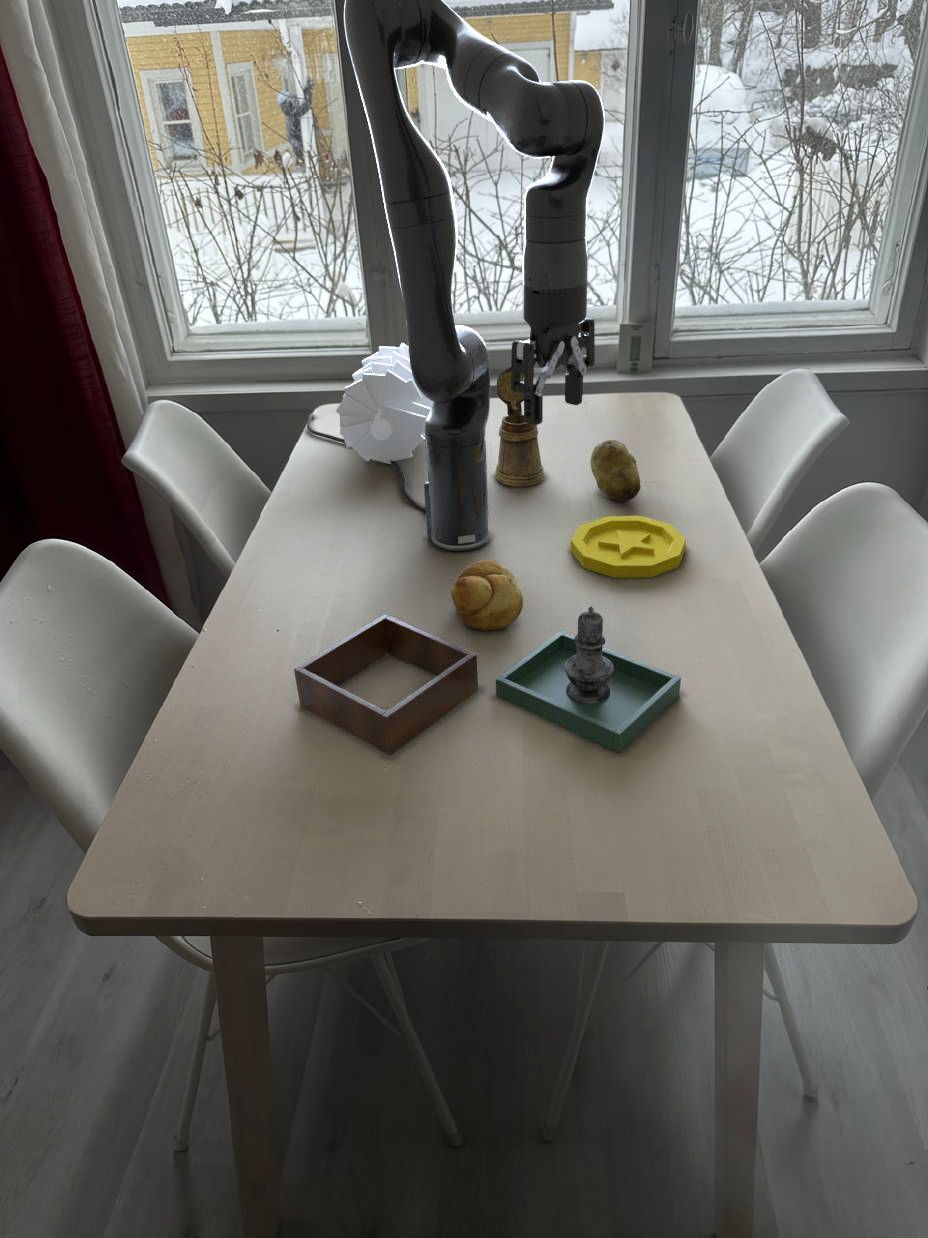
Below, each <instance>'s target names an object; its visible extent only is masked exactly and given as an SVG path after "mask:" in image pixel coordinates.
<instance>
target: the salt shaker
mask: <svg viewBox="0 0 928 1238" xmlns="http://www.w3.org/2000/svg"><path fill="white" fill-rule="evenodd" d="M603 630H604V618H603V616H602V614H600V613H599V612H597V611H595V608H593V607H592V606H591V605H590V606H589V607H588V608H587V610H586V611H583V612H582V613H580V614H579V616H578V618H577V634H576V635H575V636H576V637H575V639H574V642H575V644H576V645H577V653H576V655H574V656H572V657H571V658H569V659H568V660H567V661H566V662H565V665H564V670H565V672H566V673H567V676H568V678H569V680H570V683H569V684H568V686H567V688H566V693H567V695H568V696H569V697H570V698H571V699H572V700H574V701H576V702H579V703H583V704H596V703H600V702H602V701H604V700H606V699H607V698H608V697H609V694H610V688H609V687H608V685H607V684H606V683H607V682H608V680H609V679H610V676H611V674H612V673H613V670H614V667H613V664H612V662H611V661H610V660H609V659H607V658H606V657H604V656H602V647H604V645H605V644H606V638H605V636H604V635H603Z"/></svg>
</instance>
